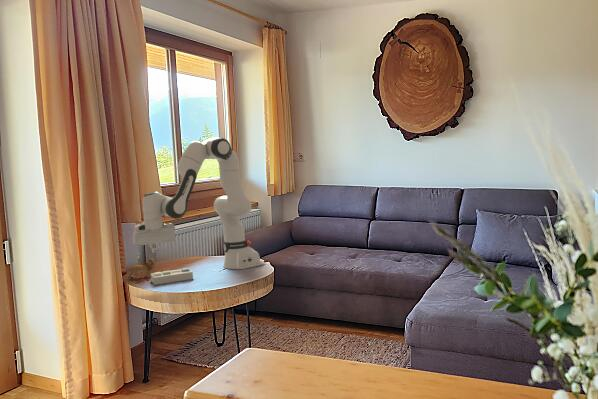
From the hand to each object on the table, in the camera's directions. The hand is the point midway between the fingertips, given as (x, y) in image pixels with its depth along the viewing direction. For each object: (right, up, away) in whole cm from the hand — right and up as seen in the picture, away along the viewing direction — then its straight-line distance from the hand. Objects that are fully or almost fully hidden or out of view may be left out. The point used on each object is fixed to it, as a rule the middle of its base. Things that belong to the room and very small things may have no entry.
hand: (155, 252), depth 254 cm
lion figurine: (-11, -15, +17) cm, 25 cm away
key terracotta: (+9, -14, +5) cm, 17 cm away
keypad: (+7, -15, +5) cm, 17 cm away
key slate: (+13, -12, +7) cm, 19 cm away
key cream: (+1, -13, +2) cm, 13 cm away
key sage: (+5, -13, +3) cm, 14 cm away
